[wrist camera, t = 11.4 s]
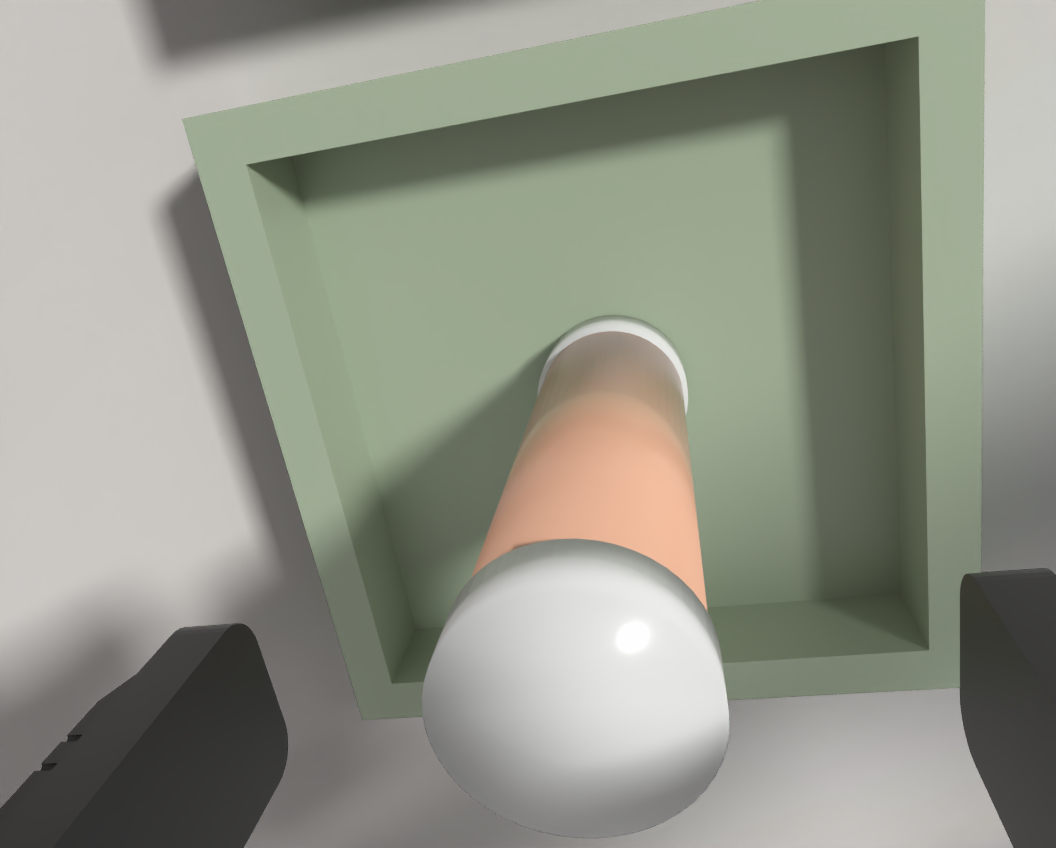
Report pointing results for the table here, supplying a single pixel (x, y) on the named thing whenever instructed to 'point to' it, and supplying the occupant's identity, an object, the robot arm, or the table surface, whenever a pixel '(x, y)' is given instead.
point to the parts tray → (638, 316)
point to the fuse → (588, 607)
